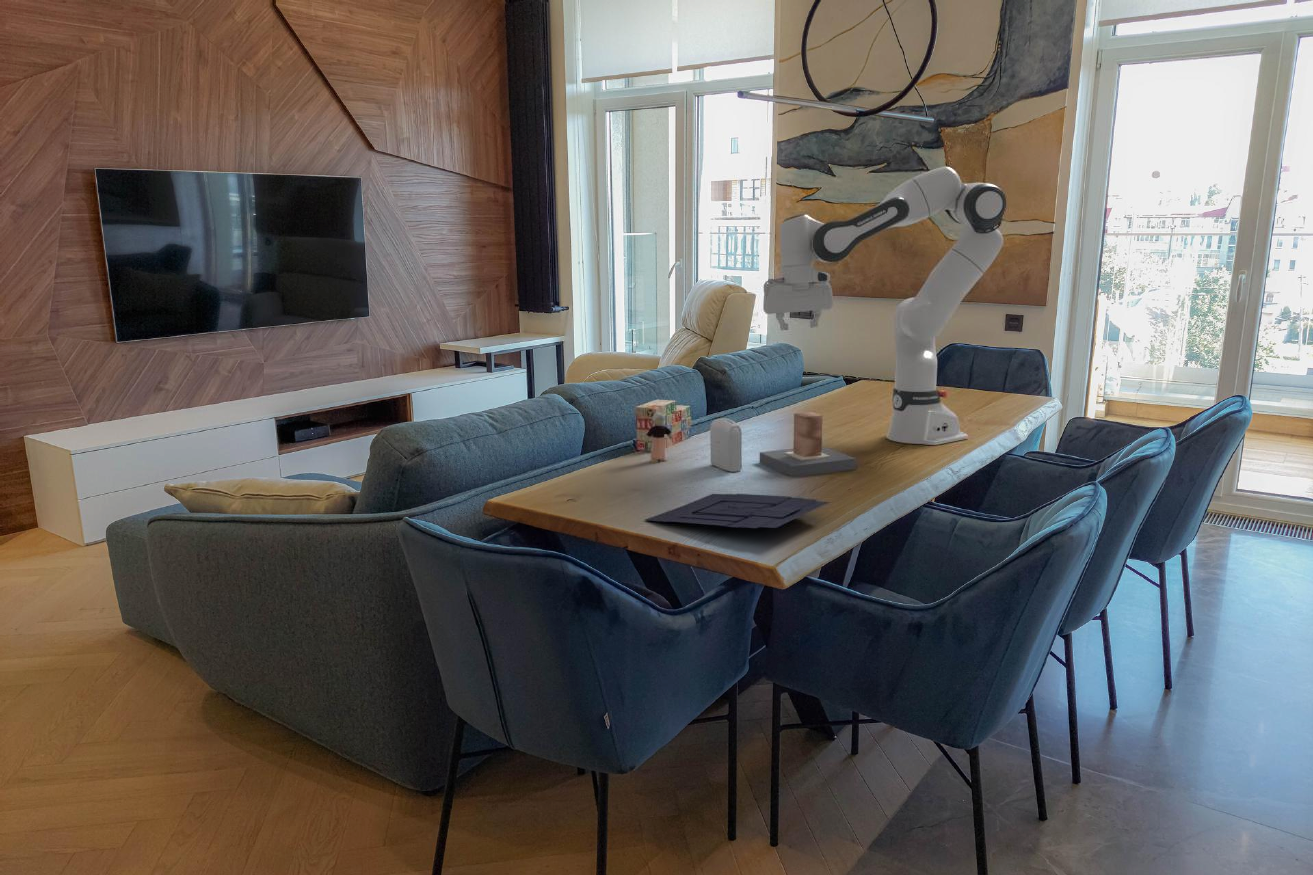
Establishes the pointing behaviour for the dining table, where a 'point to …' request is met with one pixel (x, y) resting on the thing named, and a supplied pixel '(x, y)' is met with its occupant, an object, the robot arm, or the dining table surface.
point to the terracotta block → (807, 434)
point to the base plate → (807, 462)
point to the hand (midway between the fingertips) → (799, 328)
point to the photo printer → (726, 445)
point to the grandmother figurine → (658, 438)
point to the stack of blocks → (674, 421)
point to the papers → (741, 510)
